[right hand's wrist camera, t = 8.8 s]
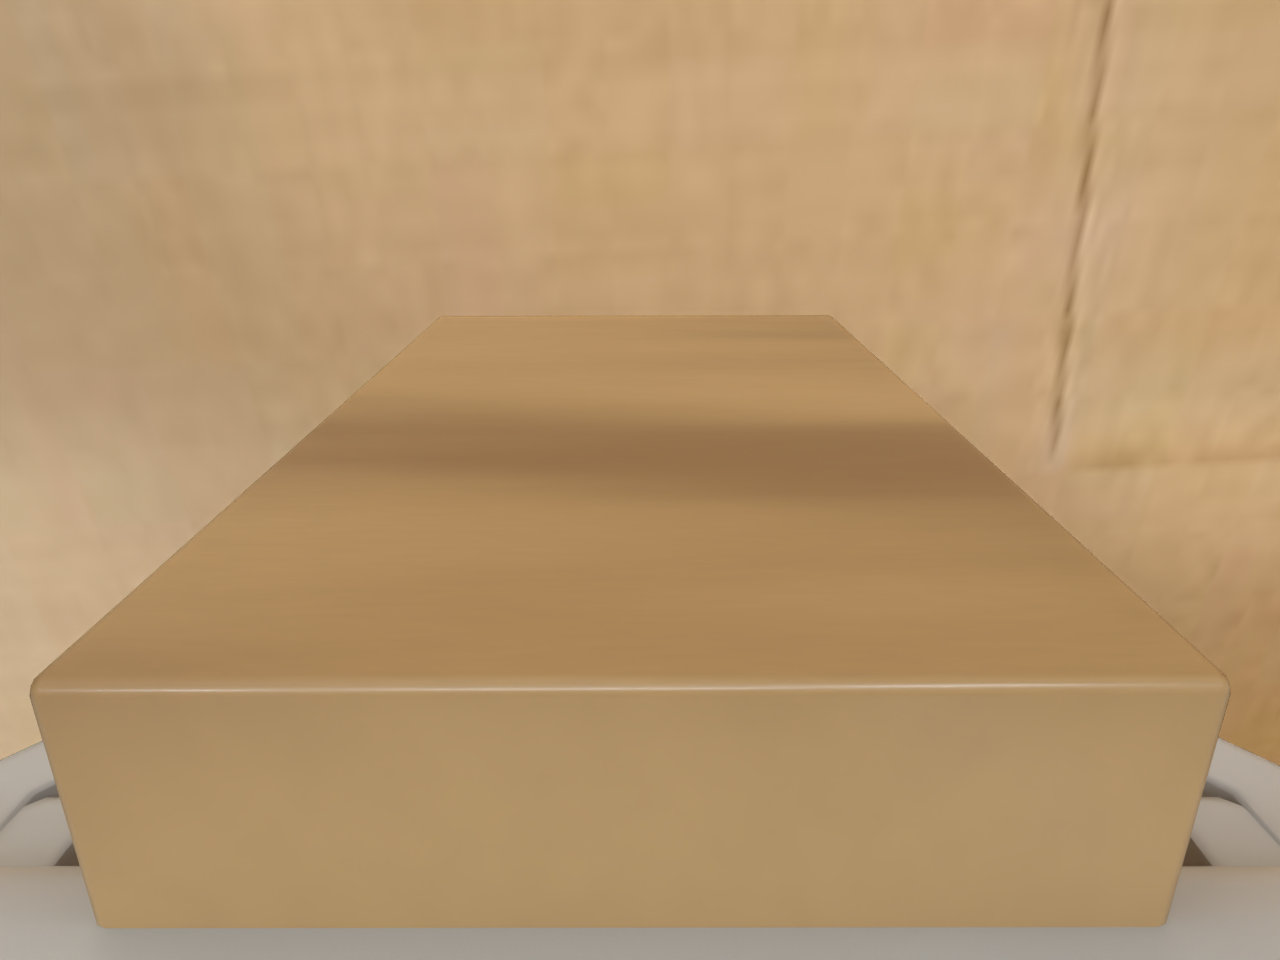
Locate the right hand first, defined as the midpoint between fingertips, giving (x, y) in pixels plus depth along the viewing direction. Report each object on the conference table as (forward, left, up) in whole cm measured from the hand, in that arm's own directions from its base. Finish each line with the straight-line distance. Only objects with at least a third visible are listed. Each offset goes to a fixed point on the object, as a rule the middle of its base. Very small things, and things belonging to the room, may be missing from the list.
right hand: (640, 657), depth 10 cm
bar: (+5, +9, -4) cm, 11 cm away
